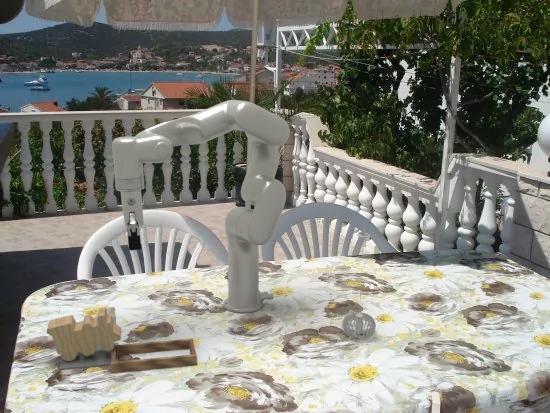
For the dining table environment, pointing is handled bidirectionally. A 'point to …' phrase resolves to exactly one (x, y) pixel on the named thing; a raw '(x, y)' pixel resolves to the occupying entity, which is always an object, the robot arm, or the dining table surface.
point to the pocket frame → (153, 362)
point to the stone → (110, 311)
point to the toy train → (83, 334)
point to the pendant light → (359, 315)
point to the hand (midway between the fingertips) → (134, 244)
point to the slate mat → (89, 359)
